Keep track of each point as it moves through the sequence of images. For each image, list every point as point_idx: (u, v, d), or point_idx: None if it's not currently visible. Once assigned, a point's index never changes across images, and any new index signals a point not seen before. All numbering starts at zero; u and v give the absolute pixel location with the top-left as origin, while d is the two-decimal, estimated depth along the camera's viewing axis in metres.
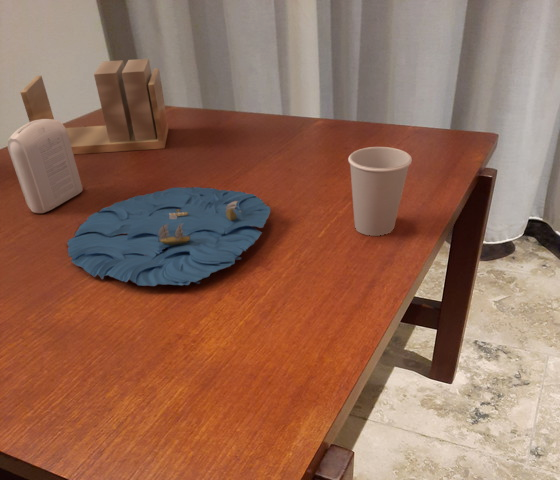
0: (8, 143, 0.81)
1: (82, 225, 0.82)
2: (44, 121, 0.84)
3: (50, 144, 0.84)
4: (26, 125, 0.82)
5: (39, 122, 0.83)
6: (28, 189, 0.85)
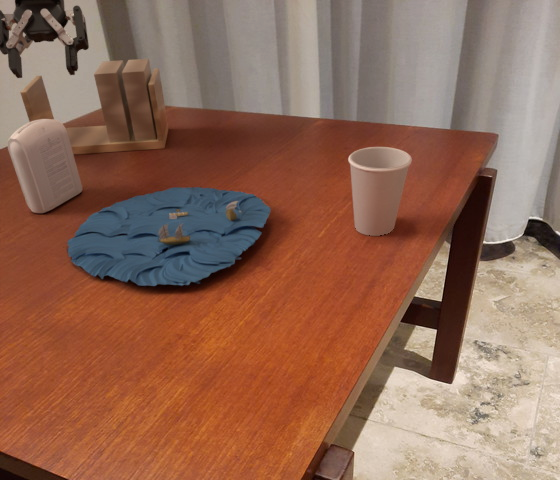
0: (8, 143, 0.81)
1: (82, 225, 0.82)
2: (44, 121, 0.84)
3: (50, 144, 0.84)
4: (26, 125, 0.82)
5: (39, 122, 0.83)
6: (28, 189, 0.85)
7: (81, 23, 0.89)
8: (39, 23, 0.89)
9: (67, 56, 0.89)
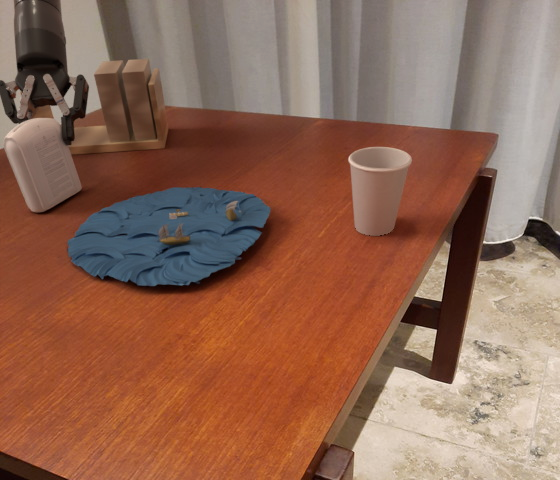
0: (4, 143, 0.81)
1: (82, 225, 0.82)
2: (39, 119, 0.84)
3: (46, 142, 0.84)
4: (21, 124, 0.82)
5: (34, 120, 0.83)
6: (26, 188, 0.85)
7: (81, 93, 0.87)
8: (42, 88, 0.87)
9: (63, 127, 0.86)
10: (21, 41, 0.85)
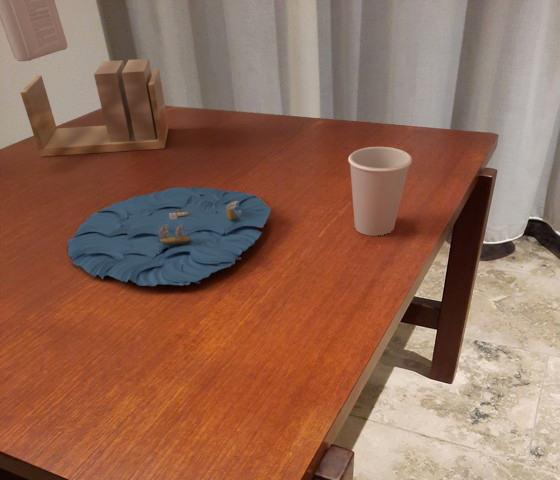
0: None
1: (82, 225, 0.82)
2: None
3: None
4: None
5: None
6: (12, 32, 0.86)
7: None
8: None
9: None
10: None
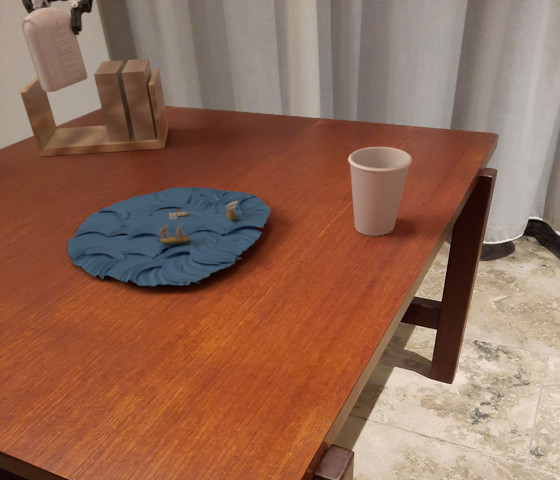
0: (22, 25, 0.95)
1: (82, 225, 0.82)
2: (52, 8, 0.98)
3: (58, 27, 0.98)
4: (37, 10, 0.96)
5: (48, 8, 0.97)
6: (40, 67, 0.99)
7: None
8: None
9: (72, 17, 1.00)
10: None
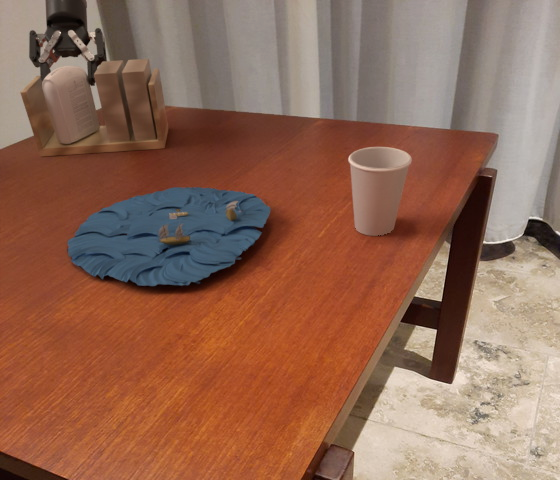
0: (43, 83, 1.01)
1: (82, 225, 0.82)
2: (70, 67, 1.04)
3: (76, 85, 1.04)
4: (57, 69, 1.02)
5: (67, 67, 1.03)
6: (58, 122, 1.05)
7: (101, 43, 1.07)
8: (66, 42, 1.07)
9: (89, 70, 1.06)
10: (51, 2, 1.05)
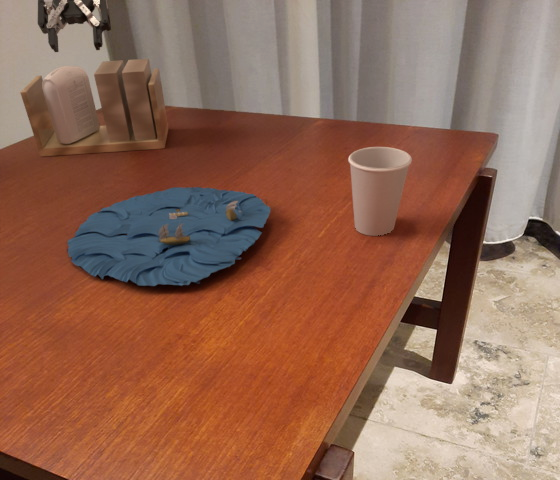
0: (43, 83, 1.01)
1: (82, 225, 0.82)
2: (70, 67, 1.04)
3: (76, 85, 1.04)
4: (56, 69, 1.02)
5: (67, 67, 1.03)
6: (57, 122, 1.05)
7: (105, 9, 1.14)
8: (72, 9, 1.13)
9: (94, 35, 1.13)
10: None
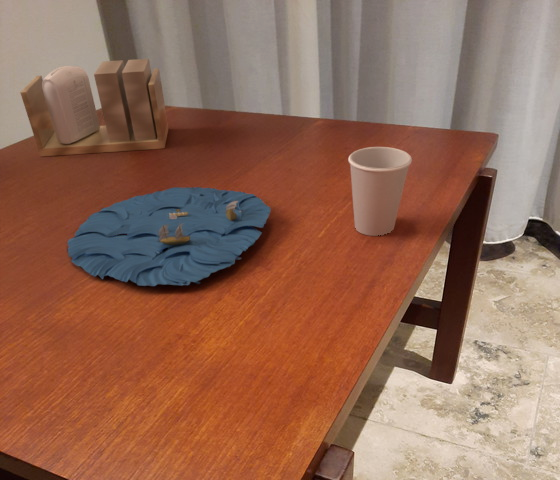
0: (43, 83, 1.01)
1: (82, 225, 0.82)
2: (70, 67, 1.04)
3: (76, 85, 1.04)
4: (56, 69, 1.02)
5: (67, 67, 1.03)
6: (57, 122, 1.05)
7: None
8: None
9: None
10: None
